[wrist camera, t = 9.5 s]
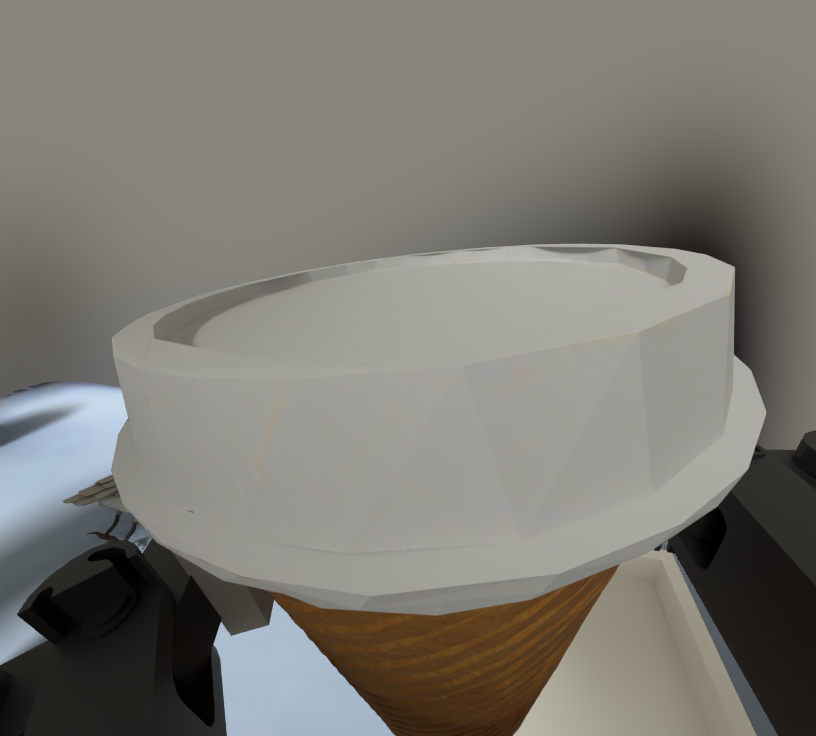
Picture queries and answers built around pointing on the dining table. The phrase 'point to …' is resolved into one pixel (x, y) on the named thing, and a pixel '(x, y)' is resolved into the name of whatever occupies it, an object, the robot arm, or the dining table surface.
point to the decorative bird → (103, 503)
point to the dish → (640, 665)
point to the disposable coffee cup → (439, 452)
